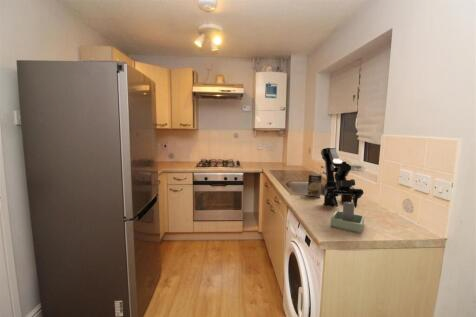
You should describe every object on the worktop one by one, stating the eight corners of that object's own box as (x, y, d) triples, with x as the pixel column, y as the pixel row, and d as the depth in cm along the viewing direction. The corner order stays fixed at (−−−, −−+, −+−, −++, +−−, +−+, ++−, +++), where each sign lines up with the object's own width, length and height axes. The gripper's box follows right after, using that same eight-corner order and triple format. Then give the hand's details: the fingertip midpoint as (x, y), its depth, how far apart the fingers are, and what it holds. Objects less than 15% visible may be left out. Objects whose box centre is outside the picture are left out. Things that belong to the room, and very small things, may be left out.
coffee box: (307, 196, 169) (308, 174, 167) (307, 194, 175) (308, 173, 173) (320, 197, 166) (321, 175, 164) (320, 195, 172) (321, 174, 170)
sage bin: (330, 226, 117) (331, 218, 116) (335, 218, 128) (336, 210, 127) (360, 233, 109) (361, 224, 109) (363, 224, 121) (364, 215, 120)
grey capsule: (340, 223, 119) (341, 202, 118) (346, 221, 121) (347, 201, 120) (349, 227, 115) (350, 205, 113) (355, 224, 117) (356, 203, 116)
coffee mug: (352, 204, 153) (353, 189, 152) (338, 201, 158) (339, 187, 157) (354, 199, 163) (355, 185, 162) (341, 197, 168) (342, 184, 166)
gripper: (327, 172, 125) (331, 199, 116) (363, 174, 123) (371, 200, 113) (322, 183, 134) (326, 208, 124) (356, 185, 132) (363, 210, 122)
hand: (346, 207), depth 121 cm, fingers open, 9 cm apart
